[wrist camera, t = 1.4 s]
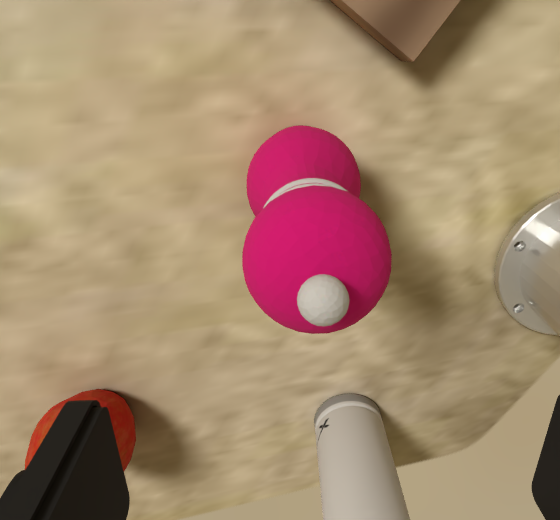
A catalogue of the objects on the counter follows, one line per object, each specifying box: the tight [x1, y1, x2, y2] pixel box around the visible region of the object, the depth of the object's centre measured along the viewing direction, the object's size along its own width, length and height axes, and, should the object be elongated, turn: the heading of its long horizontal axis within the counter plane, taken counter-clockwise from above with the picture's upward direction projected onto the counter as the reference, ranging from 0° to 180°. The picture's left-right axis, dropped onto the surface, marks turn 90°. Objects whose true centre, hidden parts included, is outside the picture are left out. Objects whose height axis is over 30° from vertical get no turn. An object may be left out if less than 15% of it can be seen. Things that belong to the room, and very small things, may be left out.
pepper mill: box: [242, 126, 392, 334], centre depth 24 cm, size 7×7×20 cm
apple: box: [25, 389, 136, 471], centre depth 37 cm, size 8×8×11 cm
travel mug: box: [314, 394, 410, 520], centre depth 34 cm, size 6×7×20 cm
